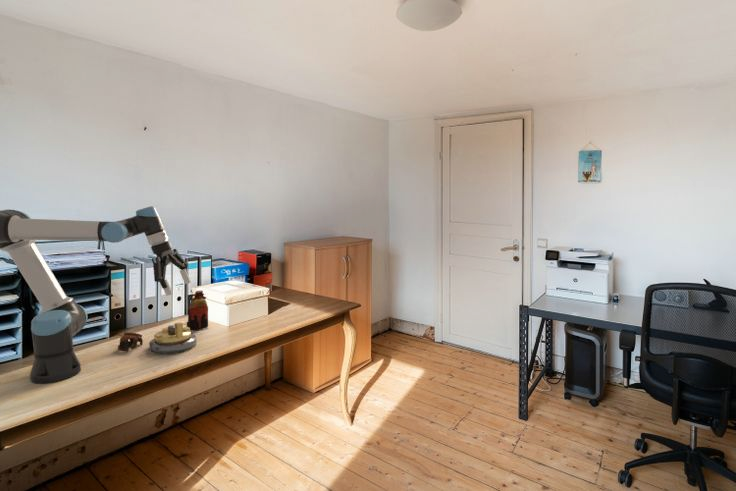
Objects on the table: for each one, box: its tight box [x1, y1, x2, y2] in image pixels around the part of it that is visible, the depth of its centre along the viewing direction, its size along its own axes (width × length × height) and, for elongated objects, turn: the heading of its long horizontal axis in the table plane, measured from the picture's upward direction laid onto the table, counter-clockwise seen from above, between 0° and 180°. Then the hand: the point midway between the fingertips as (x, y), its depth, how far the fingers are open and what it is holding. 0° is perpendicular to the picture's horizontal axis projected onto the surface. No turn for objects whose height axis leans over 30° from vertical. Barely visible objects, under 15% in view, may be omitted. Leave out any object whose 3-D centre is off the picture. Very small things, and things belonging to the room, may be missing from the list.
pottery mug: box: [117, 332, 144, 352], centre depth 180 cm, size 12×10×8 cm
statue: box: [186, 290, 209, 332], centre depth 206 cm, size 12×8×20 cm, turn 124°
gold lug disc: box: [153, 321, 192, 345], centre depth 182 cm, size 15×15×9 cm
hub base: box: [149, 324, 197, 355], centre depth 182 cm, size 19×19×9 cm
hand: (179, 288), depth 175 cm, fingers open, 13 cm apart
